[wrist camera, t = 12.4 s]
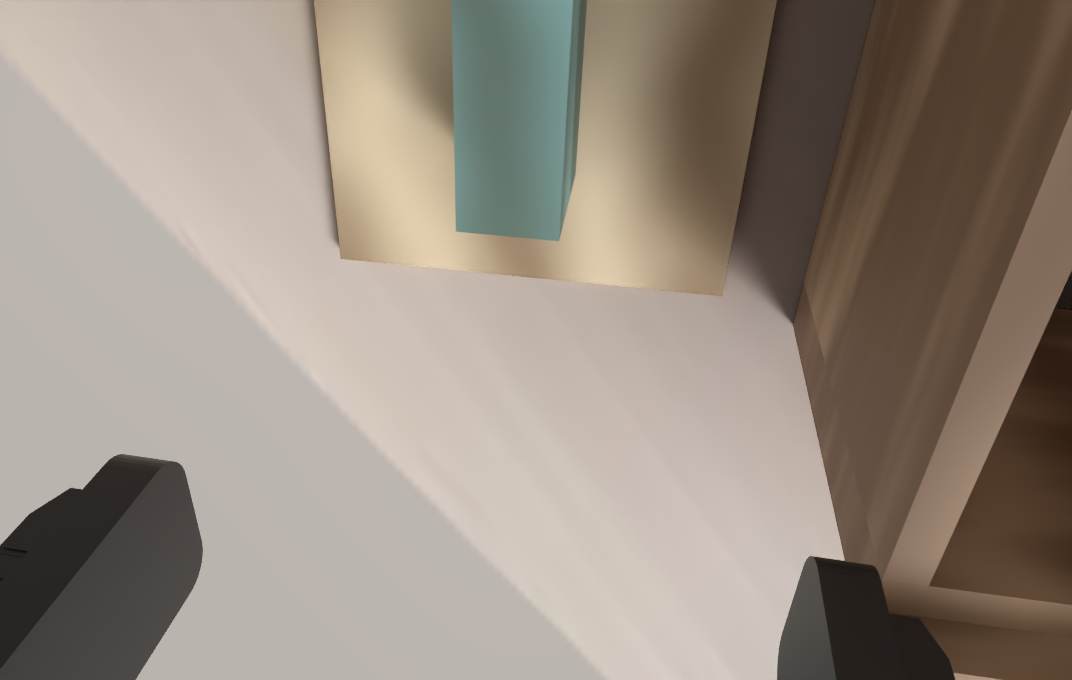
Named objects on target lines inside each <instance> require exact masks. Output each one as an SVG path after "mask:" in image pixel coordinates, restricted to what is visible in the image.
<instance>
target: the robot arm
mask: <svg viewBox="0 0 1072 680" xmlns="http://www.w3.org/2000/svg"><path fill="white" fill-rule="evenodd" d="M202 552H203V548H202V540H201V536H200V532H199V528H198V523H197V520H196V515H195V512H194V507H193V503H192V499H191V495H190V490H189V486H188V482H187V478H186V474H185V471H184V470H183V467H182V466H181V465H180V464H179V463H177V462H173V461H166V460H159V459H152V458H145V457H138V456H131V455H125V454H120V455H117V456H114V457H113V458H111V459H110V460H109V461H108V462H107V463H106V464H105V465H104V466H103V467H102V468H101V469H100V471H99V472H98V473H97V474H96V475H95V476H94V477H93V478H92V480H91V481H90V482H89V483H88V484H87V485H86V486H85V487H84V489H83V490H81V489H74V488H70V489H68V490H67V491H65V492H64V493H62V494H60V495H59V496H57V497H56V498H54V499H52V500H51V501H49V502H48V503H46V504H45V505H43V506H42V507H40V508H38V509H37V510H35V511H34V512H32V513H30V514H29V515H28V516H27V517H26V518H25V519H24V521H23V522H22V523H21V524H20V525H19V526H18V527H17V528H16V529H15V530H14V531H13V532H12V533H11V535H10V536H9V537H8V538H7V539H6V540H5V541H4V542H3V543H2V544H1V545H0V680H135V679H136V678H137V676H138V675H139V673H140V672H141V670H142V668H143V667H144V665H145V664H146V662H147V661H148V659H149V657H150V656H151V654H152V653H153V651H154V649H155V648H156V646H157V645H158V643H159V642H160V640H161V638H162V637H163V635H164V634H165V632H166V631H167V629H168V627H169V625H170V624H171V623H172V621H173V619H174V618H175V616H176V615H177V613H178V612H179V610H180V608H181V607H182V605H183V604H184V602H185V600H186V599H187V597H188V595H189V594H190V592H191V591H192V589H193V587H194V585H195V583H196V580H197V578H198V575H199V571H200V567H201V563H202ZM777 680H955V676H954V673H953V670H952V667H951V663H950V660H949V658H948V657H947V655H946V654H945V653H944V651H943V650H942V648H941V647H940V646H939V644H938V643H937V642H936V640H935V639H934V638H933V636H932V635H931V634H930V632H929V631H928V629H927V628H926V627H925V625H924V624H923V623H922V621H921V620H920V619H919V618H916V617H909V616H903V615H896V614H889V611H888V607H887V603H886V599H885V594H884V590H883V586H882V582H881V578H880V575H879V573H878V570H877V569H876V567H875V566H873V565H868V564H861V563H854V562H847V561H840V560H833V559H827V558H820V557H813V556H810V557H808V559H807V560H806V562H805V564H804V567H803V570H802V573H801V576H800V579H799V582H798V586H797V589H796V592H795V595H794V598H793V601H792V604H791V608H790V611H789V614H788V617H787V620H786V623H785V626H784V630H783V633H782V636H781V641H780V646H779V654H778V668H777Z"/></svg>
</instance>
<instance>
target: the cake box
mask: <svg viewBox="0 0 1072 680" xmlns="http://www.w3.org/2000/svg"><path fill="white" fill-rule="evenodd" d="M1071 271H1072V0H875V3H874V7H873V11H872V15H871V19H870V23H869V27H868V31H867V35H866V39H865V43H864V47H863V51H862V55H861V59H860V62H859V66H858V70H857V74H856V78H855V82H854V86H853V90H852V94H851V98H850V102H849V106H848V110H847V114H846V118H845V122H844V126H843V130H842V134H841V137H840V141H839V145H838V149H837V153H836V157H835V161H834V165H833V169H832V173H831V177H830V181H829V185H828V189H827V193H826V197H825V201H824V205H823V209H822V212H821V216H820V220H819V224H818V228H817V232H816V236H815V240H814V244H813V248H812V252H811V256H810V260H809V264H808V268H807V272H806V276H805V280H804V284H803V287H802V291H801V295H800V299H799V303H798V307H797V311H796V315H795V319H794V323H793V327H794V332H795V336H796V341H797V345H798V350H799V354H800V359H801V363H802V368H803V372H804V377H805V381H806V386H807V390H808V395H809V400H810V404H811V409H812V413H813V418H814V422H815V427H816V431H817V436H818V440H819V445H820V449H821V454H822V458H823V463H824V467H825V472H826V476H827V481H828V485H829V490H830V494H831V499H832V503H833V508H834V513H835V517H836V522H837V526H838V531H839V535H840V540H841V544H842V549H843V553H844V558H845V561H847V562H854V563H861V564H868V565H873V566H875V567H876V569H877V570H878V573H879V575H880V578H881V582H882V586H883V590H884V594H885V599H886V603H887V607H888V611H889V614H896V615H903V616H909V617H916V618H919V619H920V620H921V621H922V623H923V624H924V625H925V627H926V628H927V629H928V631H929V632H930V634H931V635H932V636H933V638H934V639H935V640H936V642H937V643H938V644H939V646H940V647H941V648H942V650H943V651H944V653H945V654H946V655H947V657H948V658H949V660H950V663H951V667H952V670H953V673H954V676H955V680H1072V310H1067V309H1058V308H1055V306H1056V304H1057V302H1058V299H1059V297H1060V295H1061V293H1062V291H1063V288H1064V286H1065V284H1066V282H1067V279H1068V277H1069V275H1070V273H1071Z"/></svg>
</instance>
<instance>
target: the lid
mask: <svg viewBox="0 0 1072 680" xmlns="http://www.w3.org/2000/svg"><path fill="white" fill-rule="evenodd" d="M776 3H777V0H314V8H315V18H316V27H317V37H318V46H319V56H320V65H321V75H322V84H323V94H324V103H325V113H326V123H327V132H328V142H329V151H330V161H331V170H332V180H333V189H334V199H335V208H336V218H337V227H338V237H339V247H340V256H341V259H349V260H359V261H369V262H379V263H389V264H400V265H410V266H420V267H430V268H440V269H451V270H461V271H471V272H481V273H491V274H502V275H512V276H522V277H532V278H542V279H553V280H563V281H573V282H583V283H593V284H604V285H614V286H624V287H634V288H644V289H655V290H665V291H675V292H685V293H695V294H705V295H716V296H722V295H723V289H724V284H725V278H726V273H727V268H728V262H729V257H730V251H731V246H732V241H733V235H734V230H735V224H736V219H737V213H738V208H739V203H740V197H741V192H742V186H743V181H744V176H745V170H746V165H747V159H748V154H749V149H750V143H751V138H752V132H753V127H754V122H755V116H756V111H757V105H758V100H759V95H760V89H761V84H762V78H763V73H764V68H765V62H766V57H767V51H768V46H769V41H770V35H771V30H772V24H773V19H774V13H775V8H776Z"/></svg>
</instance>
